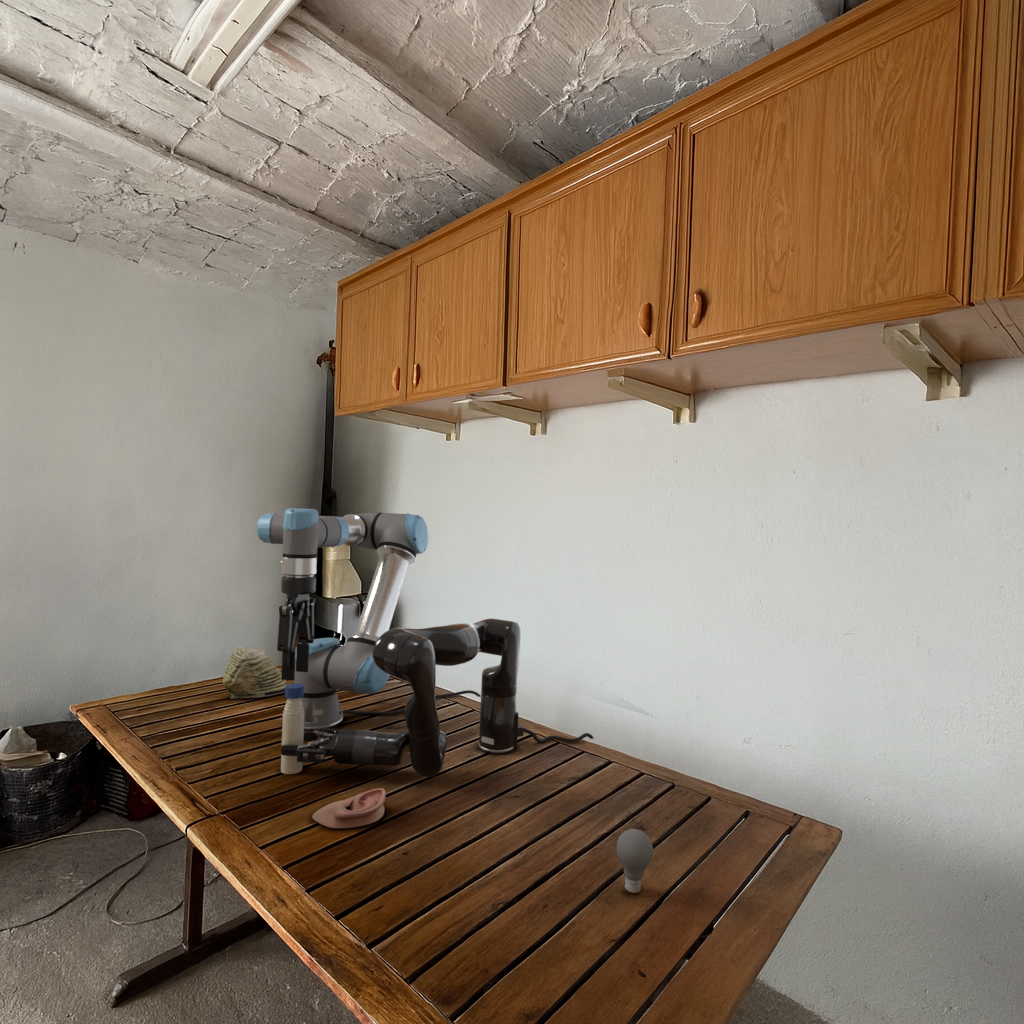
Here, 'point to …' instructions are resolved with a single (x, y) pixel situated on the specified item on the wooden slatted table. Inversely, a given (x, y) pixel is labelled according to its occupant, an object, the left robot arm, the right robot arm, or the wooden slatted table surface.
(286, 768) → the bottle
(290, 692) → the cap
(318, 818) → the anatomical model
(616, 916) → the wooden slatted table surface
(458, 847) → the wooden slatted table surface
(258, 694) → the fossil
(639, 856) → the light bulb
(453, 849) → the wooden slatted table surface
